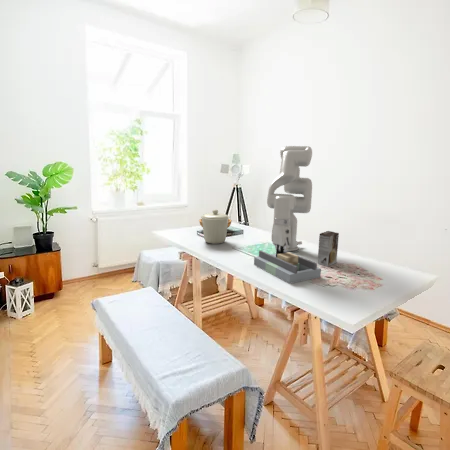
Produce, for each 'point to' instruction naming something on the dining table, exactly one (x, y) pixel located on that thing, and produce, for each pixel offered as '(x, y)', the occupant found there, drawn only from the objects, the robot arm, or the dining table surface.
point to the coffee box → (328, 248)
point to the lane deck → (287, 267)
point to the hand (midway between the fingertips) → (279, 258)
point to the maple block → (288, 258)
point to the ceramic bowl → (228, 222)
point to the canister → (215, 227)
